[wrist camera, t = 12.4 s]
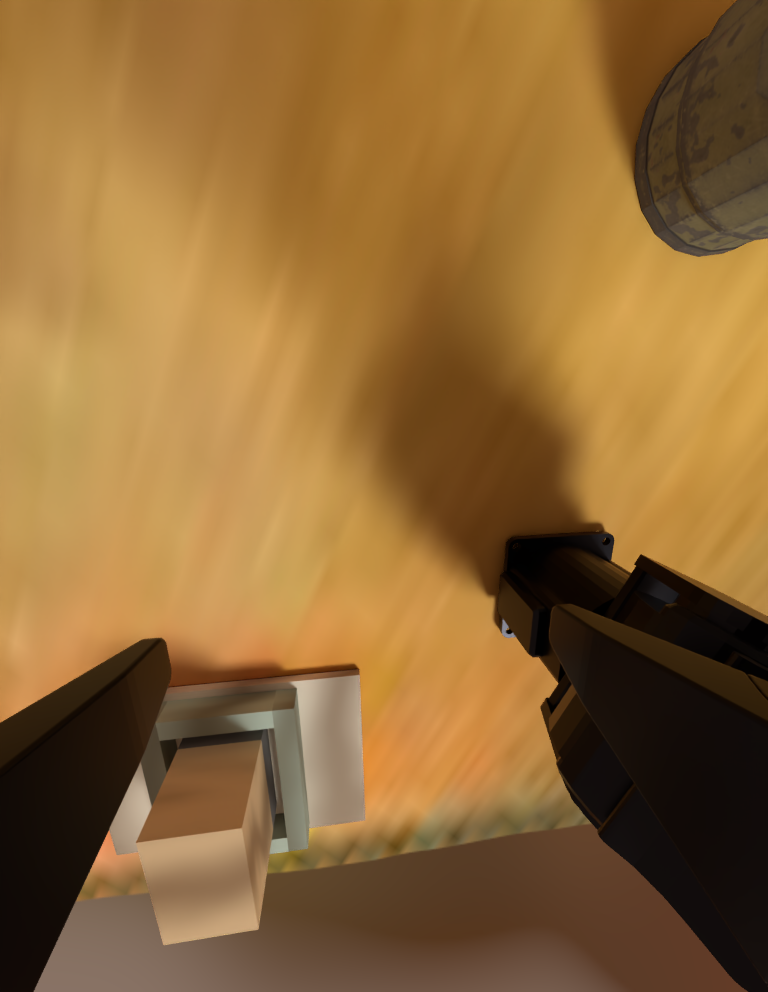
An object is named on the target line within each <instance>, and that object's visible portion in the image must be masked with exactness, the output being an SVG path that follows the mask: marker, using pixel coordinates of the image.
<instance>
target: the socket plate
mask: <svg viewBox="0 0 768 992" xmlns="http://www.w3.org/2000/svg"><path fill="white" fill-rule="evenodd" d="M261 729H268V737H269V745H270V753H271V760H272V768H273V776H274V784H275V792H276V800H277V807H276V814H275V820H274V827H273V834H272V841H271V848H270V854H274V853H281V852H288V851H295V850H301V849H308V839H309V828H314V827H321V826H328V825H336V824H343V823H350V822H357V821H364V820H365V800H364V775H363V750H362V724H361V699H360V674H359V669H355V670H345V671H335V672H324V673H314V674H304V675H293V676H283V677H272V678H262V679H252V680H241V681H231V682H221V683H210V684H200V685H189V686H179V687H169V688H168V689H167V691H166V694H165V697H164V700H163V703H162V706H161V709H160V711H159V714H158V717H157V720H156V723H155V726H154V728H153V731H152V734H151V737H150V740H149V742H148V745H147V748H146V750H145V753H144V755H143V757H142V760H141V762H140V764H139V767H138V769H137V771H136V773H135V775H134V777H133V779H132V782H131V784H130V786H129V788H128V790H127V792H126V794H125V797H124V799H123V801H122V803H121V805H120V807H119V809H118V812H117V814H116V816H115V818H114V820H113V822H112V824H111V827H110V829H109V830H110V834H111V837H112V840H113V844H114V847H115V851H116V854H117V855H122V854H129V853H136V852H138V849H137V846H136V841H137V839H138V837H139V835H140V832H141V830H142V828H143V826H144V823H145V821H146V819H147V817H148V814H149V812H150V810H151V808H152V806H153V803H154V801H155V799H156V797H157V794H158V792H159V790H160V788H161V785H162V783H163V781H164V779H165V776H166V774H167V772H168V770H169V768H170V765H171V763H172V761H173V759H174V756H175V754H176V752H177V750H178V747H179V745H180V743H181V741H182V738H189V737H198V736H207V735H216V734H225V733H234V732H243V731H252V730H261Z"/></svg>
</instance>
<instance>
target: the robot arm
mask: <svg viewBox="0 0 768 992" xmlns="http://www.w3.org/2000/svg"><path fill="white" fill-rule="evenodd" d="M604 538H606V539H605V541H604V542H603V543H602V541H603V539H604ZM516 543H518V546H517V547H516V548H514V549H513V545H514V544H516ZM613 545H614V537H613V535H611V534H609V533H608V532H605V531H597V532H581V533H564V534H548V535H531V536H515V537H511V538H510V539H508V541H507V542H506V546H505V559H504V571H503V572H502V574H501V575H500V585H499V598H498V613H499V614H500V624H499V629H500V631H501V633H502V634H503V636H505V637H507V638H511V637H516V638H517V639H518V640H519V642H520V643H521V644H522V646H523V647H524V649H525V650H526V651H527V653H528V654H529V655H530V656H532V657H539V658H540V659H541V661H542V662H543V663H544V665H545V666H546V667H547V669H548V670H549V671H550V673H551V674H552V675H553V677H554V678H555V679H556V681H557V682H558V683H559V684H558V685H557V687H556V688H555V690H554V691H553V693H552V694H551V696H550V697H549V698H546V699H545V701H544V702H543V704H542V705H541V711H542V714H543V718H544V721H545V724H546V727H547V731H548V734H549V737H550V740H551V744H552V747H553V750H554V753H555V756H556V760H557V761H556V764H557V767H558V770H559V773H560V775H561V776H562V779H563V781H564V784H565V786H566V788H567V790H568V792H569V793H570V796H571V798H572V800H573V801H574V803H575V804H576V805H577V806H578V807H579V809H580V810H581V811H582V813H583V814H584V815H585V816H586V817H587V818H588V820H589V821H590V822H591V823H592V824H593V825H594V826H595V828H597V829H598V835H599V836H600V838H601V839H602V840H603V842H605V843H606V844H607V845H608V846H609V847H611V848H612V849H613V850H614V851H615V852H617V853H618V854H619V855H620V856H621V857H623V858H624V859H625V860H626V861H628V862H629V863H630V864H631V865H632V866H634V867H635V868H636V869H637V870H638V871H639V872H640V873H641V874H642V875H643V876H644V877H645V878H646V879H647V880H648V881H649V882H650V884H651V885H653V886H654V887H655V888H656V890H657V891H659V892H660V894H662V895H663V896H664V898H665V899H666V900H667V901H668V902H669V903H670V905H671V906H672V907H673V908H674V909H675V910H676V912H677V913H678V914H679V915H680V916H681V917H682V918H683V920H684V921H685V922H686V923H687V924H688V925H689V927H690V928H691V929H692V930H693V932H694V933H695V934H696V935H697V937H698V938H699V939H700V940H701V941H702V943H703V944H704V945H705V946H706V947H707V949H708V950H709V951H710V952H711V953H712V955H713V956H714V957H715V958H716V960H717V961H718V962H719V963H720V964H721V966H722V967H723V968H724V969H725V970H726V972H727V973H728V974H729V975H730V976H731V977H732V979H733V980H734V981H735V982H736V983H738V984H739V985H740V986H741V987H742V988H744V989H745V990H747V991H748V992H768V616H766V615H764V614H762V613H760V612H758V611H756V610H754V609H752V608H750V607H748V606H747V605H745V604H743V603H741V602H739V601H737V600H735V599H733V598H731V597H729V596H727V595H725V594H723V593H721V592H719V591H717V590H715V589H713V588H711V587H709V586H707V585H705V584H703V583H701V582H699V581H696V580H694V579H692V578H690V577H688V576H686V575H684V574H682V573H680V572H677V571H675V570H673V569H671V568H669V567H667V566H665V565H663V564H661V563H659V562H656V561H654V560H652V559H650V558H648V557H646V556H644V555H642V554H641V555H640V556H639V558H638V559H637V561H636V562H635V564H634V565H636V567H635V569H634V570H633V572H632V573H630V572H628V571H627V570H625V569H623V568H622V567H620V566H619V565H617V564H615V563H614V562H612V561H611V558H612V551H613ZM508 627H509V628H510V629H509V630H506V629H507V628H508ZM170 680H171V665H170V660H169V655H168V650H167V645H166V642H165V640H164V639H162V638H151V639H143V640H140V641H139V642H137V643H135V644H134V645H132V646H130V647H129V648H127V649H125V650H123V651H122V652H120V653H118V654H117V655H115V656H113V657H112V658H110V659H108V660H106V661H105V662H103V663H101V664H100V665H98V666H96V667H94V668H93V669H91V670H89V671H88V672H86V673H84V674H83V675H81V676H79V677H77V678H76V679H74V680H72V681H71V682H69V683H67V684H66V685H64V686H62V687H60V688H59V689H57V690H55V691H54V692H52V693H50V694H49V695H47V696H45V697H43V698H42V699H40V700H38V701H37V702H35V703H33V704H31V705H30V706H28V707H26V708H25V709H23V710H21V711H20V712H18V713H16V714H14V715H13V716H11V717H9V718H8V719H6V720H4V721H3V722H1V723H0V992H34V990H35V987H36V985H37V983H38V981H39V979H40V977H41V974H42V972H43V970H44V968H45V966H46V964H47V962H48V960H49V957H50V955H51V953H52V951H53V949H54V947H55V945H56V942H57V940H58V938H59V936H60V934H61V931H62V929H63V927H64V925H65V923H66V921H67V919H68V917H69V915H70V912H71V910H72V908H73V906H74V904H75V902H76V900H77V897H78V895H79V893H80V891H81V889H82V887H83V885H84V882H85V880H86V878H87V876H88V874H89V872H90V869H91V867H92V865H93V863H94V861H95V859H96V857H97V854H98V852H99V850H100V848H101V846H102V844H103V842H104V839H105V837H106V835H107V833H108V831H109V829H110V827H111V824H112V822H113V820H114V818H115V816H116V814H117V812H118V809H119V807H120V805H121V803H122V801H123V799H124V797H125V794H126V792H127V790H128V788H129V786H130V784H131V782H132V779H133V777H134V775H135V773H136V771H137V769H138V767H139V764H140V762H141V760H142V757H143V755H144V753H145V750H146V748H147V745H148V742H149V740H150V737H151V734H152V731H153V728H154V726H155V723H156V720H157V717H158V714H159V711H160V709H161V706H162V703H163V700H164V697H165V694H166V691H167V689H168V686H169V683H170Z"/></svg>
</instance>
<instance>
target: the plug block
mask: <svg viewBox="0 0 768 992" xmlns="http://www.w3.org/2000/svg"><path fill="white" fill-rule="evenodd" d="M276 807H277V800H276V792H275V784H274V776H273V768H272V760H271V753H270V745H269V737H268V729H261V730H252V731H243V732H234V733H225V734H216V735H207V736H198V737H189V738H182V741H181V743H180V745H179V747H178V750H177V752H176V754H175V756H174V759H173V761H172V763H171V765H170V768H169V770H168V772H167V774H166V776H165V779H164V781H163V783H162V785H161V788H160V790H159V792H158V794H157V797H156V799H155V801H154V803H153V806H152V808H151V810H150V812H149V814H148V817H147V819H146V821H145V823H144V826H143V828H142V830H141V832H140V835H139V837H138V839H137V841H136V846H137V849H138V853H139V857H140V860H141V864H142V868H143V871H144V875H145V879H146V882H147V886H148V890H149V893H150V897H151V900H152V904H153V908H154V912H155V915H156V919H157V923H158V926H159V930H160V933H161V937H162V941H163V944H164V945H167V944H174V943H180V942H185V941H191V940H198V939H203V938H209V937H215V936H221V935H227V934H233V933H239V932H245V931H251V930H257V929H259V922H260V915H261V908H262V901H263V895H264V888H265V881H266V875H267V868H268V861H269V854H270V848H271V841H272V834H273V827H274V820H275V814H276Z"/></svg>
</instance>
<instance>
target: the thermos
mask: <svg viewBox="0 0 768 992" xmlns="http://www.w3.org/2000/svg"><path fill="white" fill-rule="evenodd" d="M635 183H636V187H637V192H638V196H639V201H640V205H641V210H642V212H643V214H644V215H645V217H646V219H647V221H648V222H649V224H650V226H651V227H652V229H653V231H654V233H655V234H656V235H657V236H658V237H659V238H660V239H662V240H663V241H664V242H665V243H667V244H668V245H669V246H670V247H672V248H673V249H674V250H676V251H679V252H683V253H687V254H690V255H694V256H698V257H699V256H707V255H714V254H722V253H725V252H728V251H731V250H733V249H736V248H738V247H740V246H742V245H744V244H746V243H748V242H751V241H754V240H758V239H766V238H768V0H737V1H736V2H735V3H734V4H733V5H732V6H731V7H730V8H729V9H728V10H727V11H726V12H725V13H724V14H723V15H722V16H721V17H720V18H719V20H718V21H717V23H716V25H715V27H714V28H713V30H712V32H711V34H710V35H709V36H708V37H706V38H704V39H703V40H701V41H700V42H699V43H698V44H697V45H696V46H695V47H694V48H693V49H692V50H691V51H690V52H689V53H688V54H687V55H686V56H685V57H684V58H683V59H682V60H681V61H680V62H679V63H678V64H677V65H676V66H675V67H674V68H673V69H672V70H671V71H670V72H669V73H668V74H667V75H666V76H665V77H664V79H663V80H662V82H661V84H660V86H659V88H658V89H657V91H656V93H655V95H654V97H653V98H652V100H651V102H650V104H649V105H648V107H647V109H646V112H645V116H644V119H643V123H642V126H641V130H640V133H639V137H638V140H637V144H636V163H635Z"/></svg>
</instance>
